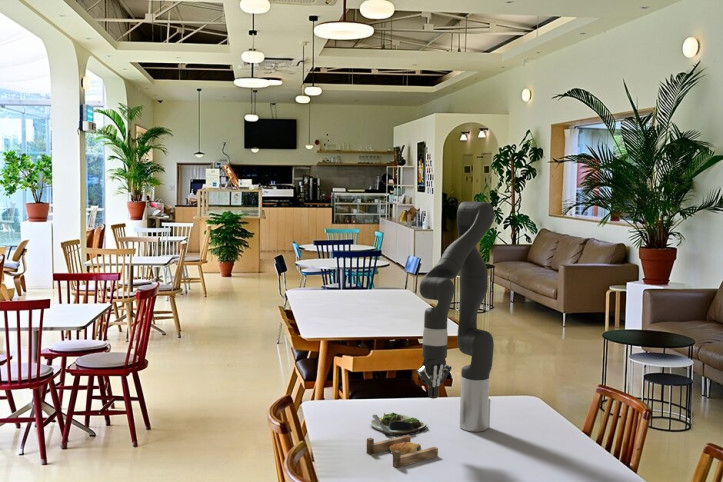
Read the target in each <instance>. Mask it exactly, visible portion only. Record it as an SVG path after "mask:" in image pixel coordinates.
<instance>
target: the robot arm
mask: <svg viewBox="0 0 723 482" xmlns="http://www.w3.org/2000/svg"><path fill="white" fill-rule="evenodd" d="M494 220H495V210H494V207H493V205H492V204H491V203H489V202H486V201H466V200H465V201H462V202H461V203H460V204H459V205H458V208H457V212H456V223H457V224H456V226H457V233H458V234H457V235H458V238H456V239H455V240H454V241H453V242H452V243H450V244H449V245H448V246H447V248H446V249H445V250H444V251H443V253H442V255H441V256H440V258H439V260H438V262H437V264H435V265H434V266H433V267H432V268H431V269H430V270H429V271H428V272H427V273H426V274H425V275H424V276H423V277H422V279H421V282H420V283H419V288H418V289H419V293H420V296H421V297H423V299H426V300H433V301H437V304H436V306H433V307H427V308H426V309H425V310H424V316H423V317H424V320H423V324H424V325H423V332H422V351H421V353H422V355H421V356H422V358H423V361H422V364H421V365H422V366H421V368H418V369H416V371H415V372H416V374H417V376H418V377H419V379H420V381H421V383H423V384H424V385H427V386H428V389H427V390H428V391H427V392H428V393H427V395H428V397H429V398H430V399H432V400H433V399H434V400H435V399H437V398H438V396H439V387H440V385H441V384H444V383H445V381H446V380H447V377H448V376H449V374H450V372H451V371H452V366H451V365H448V364H447V360H446V358H447V357H448V339H449V337H448V335H449V334H448V314H449V311H450V308H451V304H452V302H453V298H454V294H455V284H454V283H453V281H452V280H453V279H455V278H456V277H457V276H458V275H459V315H458V316H459V317H458V318H459V319H458V324H457V325H458V326H457V327H458V328H457V336H456V337H457V338H456V341H457V346H458V350H459V351H460V352H461V353H462V354H464V355H467V356H469V357H470V356H471V359H470V364H468V365H464V366H463V367H462V368H461V371H460V372H461V375H460V376H461V377H460V404H459V405H460V409H459V428H460V429H461V430H463V431H468V432H476V433H477V432H483V431H484V432H485V431H487V430H488V428H490V424H491V423H490V422H491V421H490V420H491V399H490V398H489V397H490V394H489V393H490V392H489V391H490V373H491V372H492V371H491V370H492V367H493V358H494V350H495V349H494V347H495V344H494V343H495V342H494V337H493V335H492V334H491V333H490V332H489V331H487V330H485V329H481V328H478V311H479V309H480V307H481V304H482V303H483V301H484V299H485V297H486V295H487V292H488V287H489V271H488V267H487V264H486V263H485V261H484V259H483V257H482V255H481V254H480V251H479V250H478V248H477V245H478V243H479V242H480V241H481V240H482V238H483V237H484V236H485V235H486V233H487V232H488V231H489V230H490V228H491V227H492V225H493V223H494Z"/></svg>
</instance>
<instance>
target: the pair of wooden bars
mask: <svg viewBox="0 0 723 482" xmlns="http://www.w3.org/2000/svg"><path fill="white" fill-rule="evenodd" d="M411 441H412V440H411V435H405V436H397V437H393V438H389V439H385V440H381V441H376V442H375V439H374V438H373V437H367V438H366V454H367V455H373V454H376V453H377V454H378V453H381V452H384V451H390V448H389V447H390V446H392V445H393V444H397V443H398V444H399V443H403V442H405V443H407V442H411ZM411 443H412V442H411ZM400 453H401V452H400V451H398V450H395V451H393V453H392V467H394V468H400V467H405V466H407V465H411V464H415V463H418V462H422V461H426V460H430V459H433V458H436V457H438V456H439V448H438V447H436V446H432V447H428V448H424V449H421V450H420V451H416V452H412V453H409V454H405V455H401V456H400Z"/></svg>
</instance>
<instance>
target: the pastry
mask: <svg viewBox="0 0 723 482" xmlns="http://www.w3.org/2000/svg"><path fill="white" fill-rule="evenodd" d="M389 448H390V449H389V451H390V453H391V454H393V451H395V450H398V451H400V452H401V453H400V456H401V455H405V454H409V453H412V452H416V451H420V450H422V446H421V444H420V443H414V442H407V443H405V442H403V443H399V444H398V443H397V444H393V445H392V446H390V447H389Z"/></svg>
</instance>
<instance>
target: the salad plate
mask: <svg viewBox="0 0 723 482" xmlns="http://www.w3.org/2000/svg"><path fill="white" fill-rule="evenodd" d="M372 418H373V419H372V420H370V422H369V423H370V427H372V428H374V429H375V430H378V431H379V432H382V433H384V434H387V435H390V436H397V437H401V436H405V435H409V436H411V435H414V434H418V433H422V432H423V431H424V430H425V429H426V428H427V422H426V421H423V420H420V419H418V418H416V417H413V416H412V417H411V416H409V415H405V414H398V413H396V412H393V411H392V412H390V413H387V414H386V412H383V416H381V417H379V415H378V414H372Z"/></svg>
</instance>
